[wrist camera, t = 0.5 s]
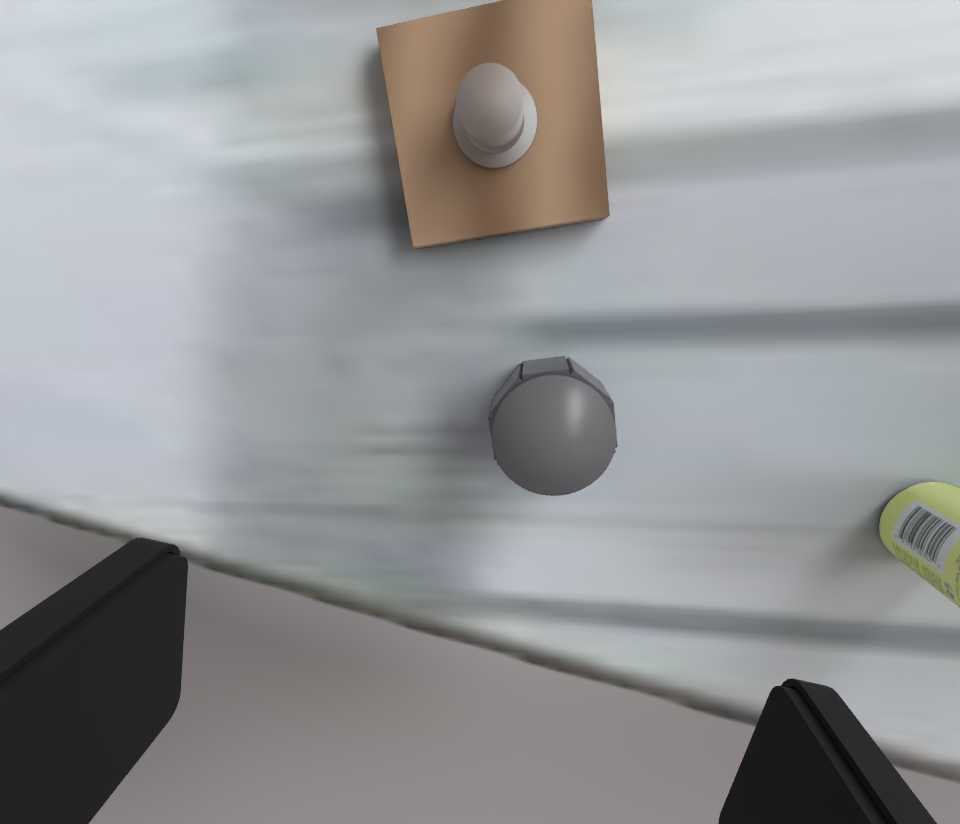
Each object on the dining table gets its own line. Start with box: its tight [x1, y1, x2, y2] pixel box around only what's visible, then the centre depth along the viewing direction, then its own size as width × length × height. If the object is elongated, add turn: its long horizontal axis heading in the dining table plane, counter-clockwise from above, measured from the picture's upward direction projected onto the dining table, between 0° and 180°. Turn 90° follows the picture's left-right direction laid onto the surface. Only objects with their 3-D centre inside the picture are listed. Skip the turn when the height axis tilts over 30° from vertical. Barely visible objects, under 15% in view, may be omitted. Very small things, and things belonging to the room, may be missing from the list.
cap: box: [489, 356, 617, 496], centre depth 28 cm, size 6×6×5 cm
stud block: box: [376, 0, 610, 248], centre depth 25 cm, size 10×10×5 cm
